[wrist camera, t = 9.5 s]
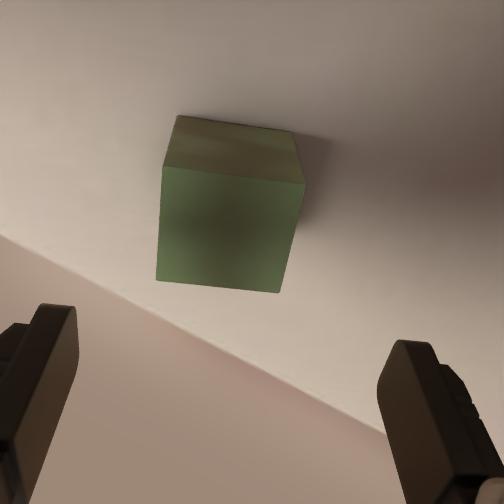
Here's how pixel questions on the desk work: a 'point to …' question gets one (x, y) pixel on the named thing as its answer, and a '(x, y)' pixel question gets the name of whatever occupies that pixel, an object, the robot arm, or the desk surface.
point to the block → (228, 205)
